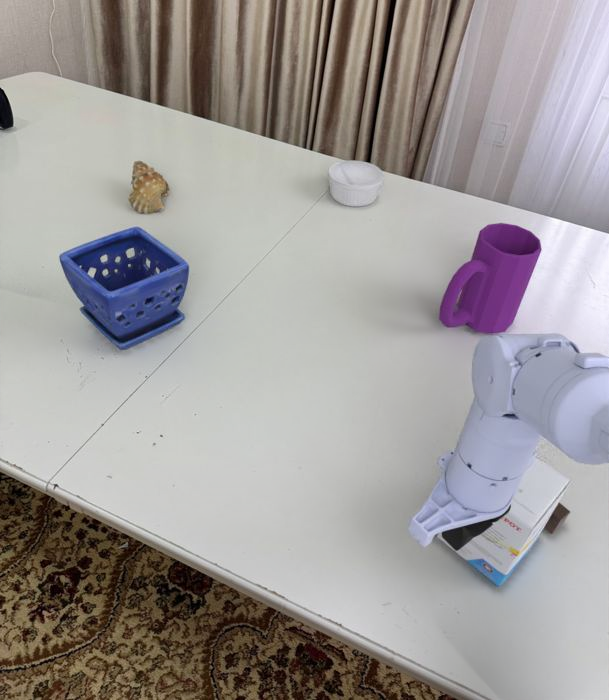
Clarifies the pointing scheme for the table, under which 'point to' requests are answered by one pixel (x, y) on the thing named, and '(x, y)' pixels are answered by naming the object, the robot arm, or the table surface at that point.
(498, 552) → the ink box
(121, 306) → the flower pot
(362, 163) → the ramekin
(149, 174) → the seashell
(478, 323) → the mug
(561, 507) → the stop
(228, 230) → the table surface
